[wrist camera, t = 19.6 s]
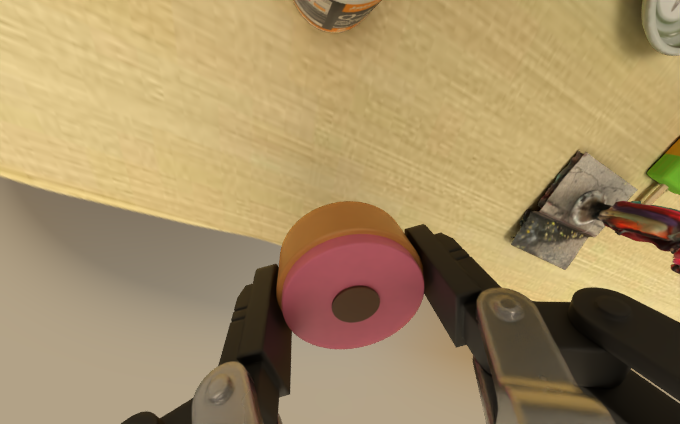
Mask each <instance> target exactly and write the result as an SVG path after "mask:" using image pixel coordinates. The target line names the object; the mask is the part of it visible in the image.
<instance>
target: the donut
mask: <svg viewBox="0 0 680 424" xmlns="http://www.w3.org/2000/svg"><path fill="white" fill-rule="evenodd" d="M423 295H424V277H423V267H422V262H421V259H420V257H419V255H418V253H417V251H416V250H415V248H414V247H413V245H412V244H411V243H410V241H409V240H408V238H407V237H406V235H405V234H404V232H403V231H402V230H401V228H400V227H399V225H398V224H397V222H396V221H395V220H394V219H393V218H392V217H391V216H390V215H389V214H388V213H386V212H385V211H383V210H382V209H380V208H378V207H376V206H373V205H370V204H367V203H362V202H353V201H345V202H336V203H331V204H327V205H324V206H321V207H319V208H317V209H315V210H313V211H311V212H309V213H308V214H306V215H305V216H303V217H302V218H301V219H300V220H298V221H297V222H296V223H295V225H294V226H293V227H292V228H291V229H290V231H289V232H288V233H287V235H286V237H285V239H284V241H283V244H282V247H281V252H280V261H279V269H278V278H277V287H276V297H277V301H278V304H279V306H280V309H281V311H282V313H283V317H284V319H285V322H286V323H287V325H288V327H289V328H290V329H291V330H292V331H293V333H294V334H296V335H297V336H298V337H299V338H301V339H302V340H304V341H306V342H308V343H311V344H312V345H316V346H319V347H324V348H329V349H352V348H359V347H363V346H367V345H371V344H373V343H376V342H379V341H381V340H383V339H385V338H387V337H389V336H391V335H392V334H394V333H396V332H397V331H398V330H400V329H401V328H402V327H403V326H405V325H406V324H407V323H408V322H409V321H410V319H411V318H412V317H413V316H414V315H415V313H416V311H417V310H418V308H419V307H420V304H421V302H422V299H423Z"/></svg>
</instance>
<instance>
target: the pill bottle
mask: <svg viewBox="0 0 680 424" xmlns="http://www.w3.org/2000/svg"><path fill="white" fill-rule="evenodd" d="M293 1H294V3H295V5H296V7H297V9H298V10H299V12H300V13H301V15H302V16H303V17H304V18H305V19H306V20H307V21H308V22H309V23H310V24H311V25H313V26H314V27H316V28H318V29H320V30H322V31H325V32H332V33H338V32H343V31H347V30H349V29H351V28H353V27H355V26H356V25H357V24H359V23H360V22H361V21H362V20H363V19H364V18H365V17H366V16H367V15H368V14H369V13H370V12H371V11H372V10H373V9H374V8H375V7H376V6H377V5H378V4H379V3H380V2H381V1H382V0H293Z"/></svg>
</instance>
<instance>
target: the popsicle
mask: <svg viewBox="0 0 680 424" xmlns="http://www.w3.org/2000/svg"><path fill="white" fill-rule="evenodd" d="M647 175H648V176H650V177H651V178H652V179H654V180H655V181H657V182H658V183H659V184H661V185H660V186H659V187H658V188H657V189H656V190H655V191H654V192H653V193H652V194H651V195H650V196H649V197H648V198H647V199H646V200H645V201H644V202H643V203H642V204H646V205H652V204H653V203H654V202H655V201H656V200H657V199H658V198H659V197H660V196H661V195H662V194H663V193H664V192H665V191H666V190H667V189H668V190H669V191H671V192H673V193H676V194H679V195H680V138H679V139H678V140H677V141H676V143H675V144H674V145H673V146H672V147H671V148H670V149H669V150H668V151H667V152H666V153H665V154H664V155H663V156H662V157H661V158H660V159H659V160H658V161H657V162H656V163H655V164H654V165H653V166H652V167H651V168H650V170H649V171H648V172H647Z"/></svg>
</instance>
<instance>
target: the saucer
mask: <svg viewBox="0 0 680 424" xmlns="http://www.w3.org/2000/svg"><path fill="white" fill-rule="evenodd" d="M641 18H642V25H643V29H644V31H645V34H646V37H647V40H648V42H649V43H650V45H651V46H652V47H653V48H654V49H655V50H656V51H658V52H660V53H662V54H665V55H670V56H677V55H680V0H643V2H642V11H641Z"/></svg>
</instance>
